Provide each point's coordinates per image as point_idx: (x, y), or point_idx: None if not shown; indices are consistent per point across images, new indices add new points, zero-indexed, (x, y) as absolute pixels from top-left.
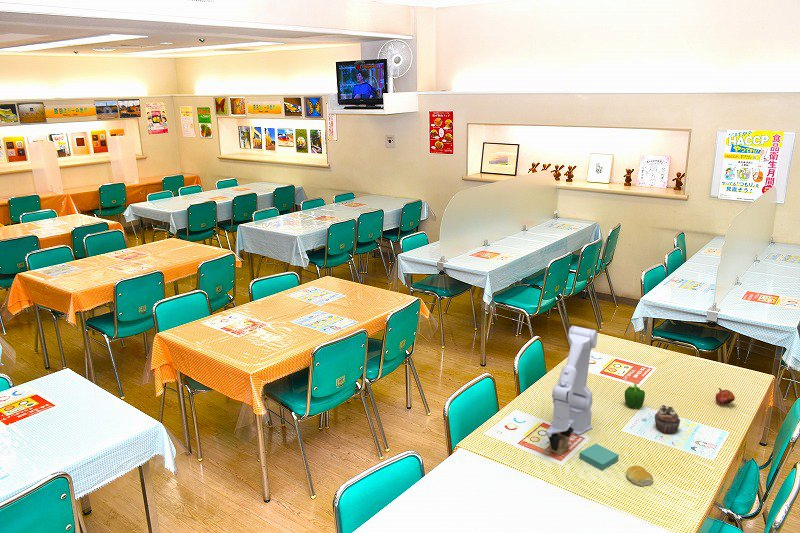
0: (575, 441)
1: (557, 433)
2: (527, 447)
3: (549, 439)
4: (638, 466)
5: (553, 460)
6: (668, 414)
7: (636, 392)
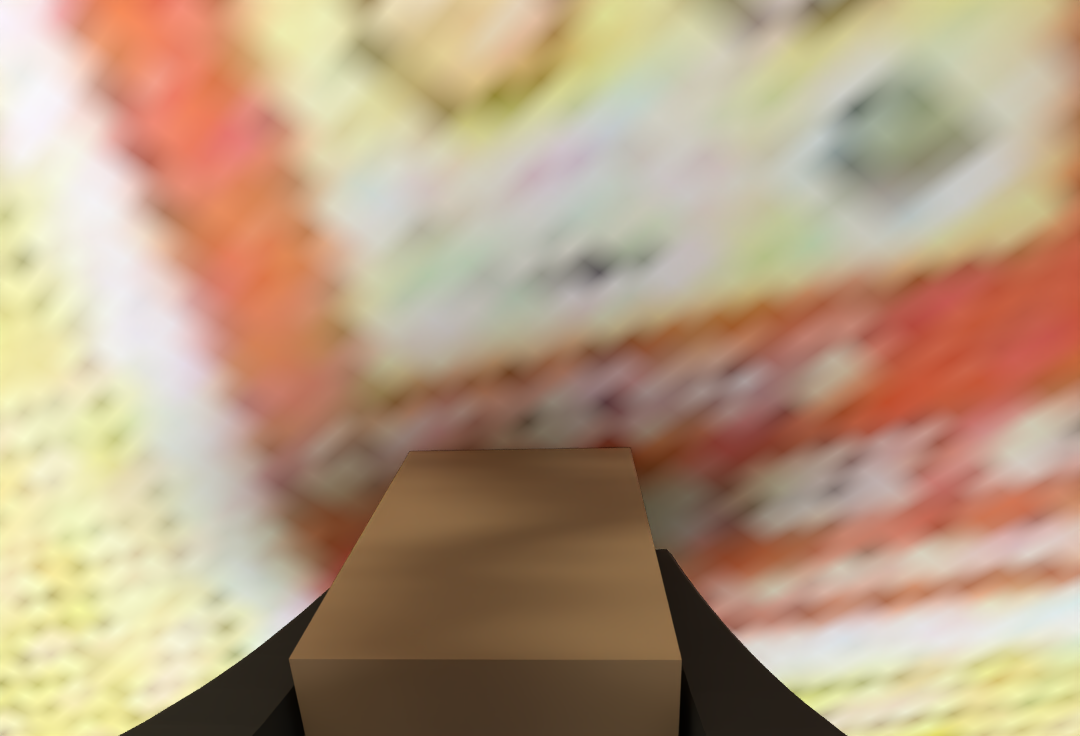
0: (985, 535)
1: (591, 689)
2: (128, 161)
3: (206, 699)
4: None
5: None
6: None
7: None
